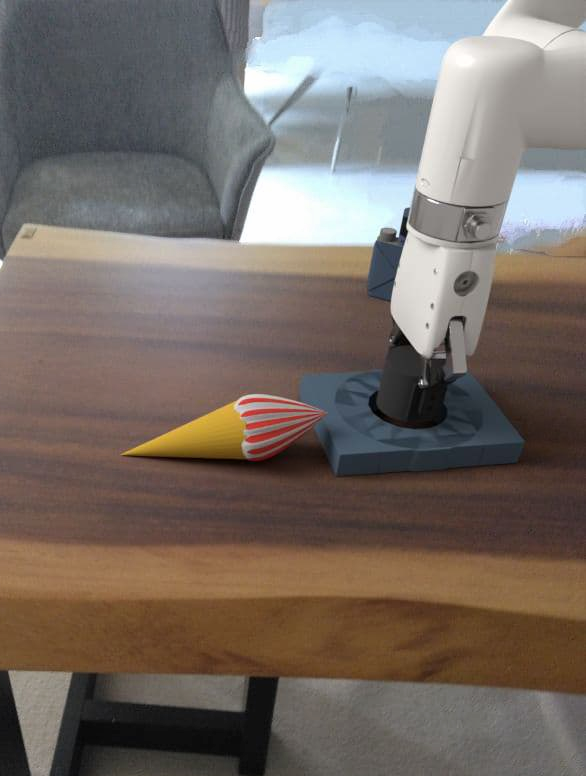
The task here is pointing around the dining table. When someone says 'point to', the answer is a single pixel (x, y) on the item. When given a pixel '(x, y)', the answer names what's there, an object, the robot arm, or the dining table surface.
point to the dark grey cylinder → (400, 380)
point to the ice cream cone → (238, 430)
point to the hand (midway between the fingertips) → (409, 398)
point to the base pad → (402, 445)
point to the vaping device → (386, 260)
